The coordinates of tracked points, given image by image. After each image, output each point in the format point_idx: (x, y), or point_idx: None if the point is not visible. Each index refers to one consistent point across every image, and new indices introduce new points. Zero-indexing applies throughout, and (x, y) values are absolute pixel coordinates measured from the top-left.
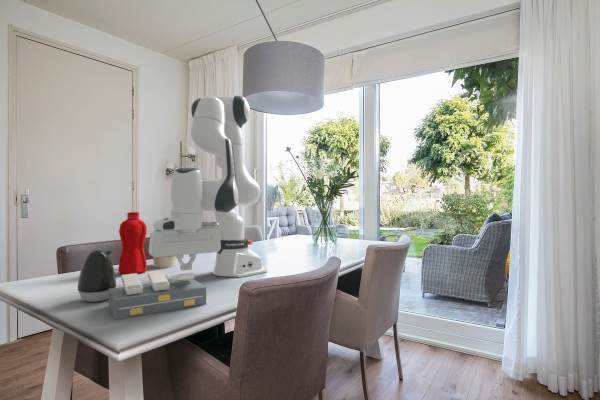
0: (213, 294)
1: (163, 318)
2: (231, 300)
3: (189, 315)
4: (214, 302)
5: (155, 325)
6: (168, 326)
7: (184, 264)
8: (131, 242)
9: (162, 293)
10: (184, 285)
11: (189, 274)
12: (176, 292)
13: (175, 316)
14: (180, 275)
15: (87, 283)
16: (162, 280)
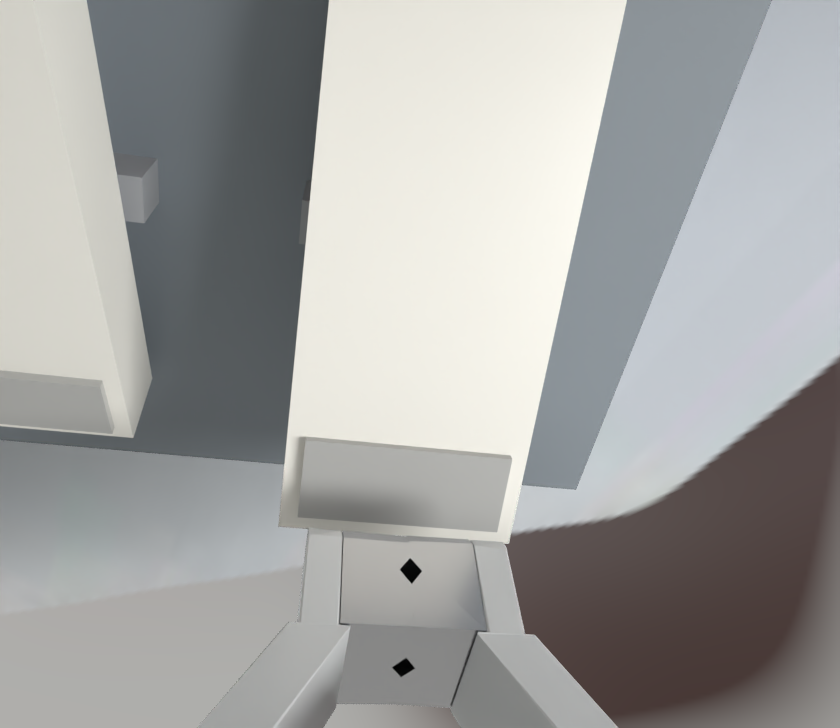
0: (837, 116)
1: (96, 472)
2: (759, 411)
3: None
4: None
5: (21, 549)
6: (100, 597)
7: (339, 702)
8: None
9: (49, 443)
10: None
11: (433, 532)
12: (223, 452)
13: (191, 482)
14: (286, 517)
15: None
16: (25, 331)
